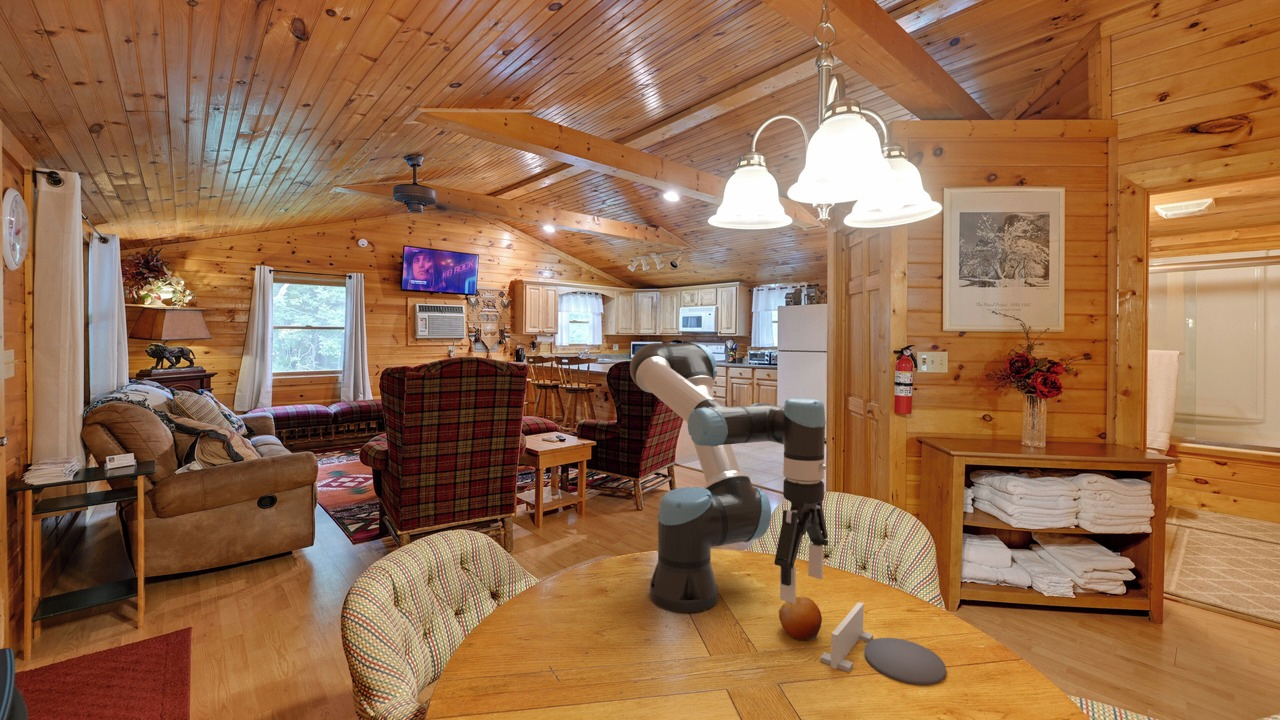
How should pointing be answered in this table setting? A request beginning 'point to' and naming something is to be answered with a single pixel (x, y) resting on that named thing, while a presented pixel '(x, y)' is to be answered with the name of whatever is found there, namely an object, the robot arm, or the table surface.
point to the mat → (905, 661)
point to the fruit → (801, 619)
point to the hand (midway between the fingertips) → (802, 588)
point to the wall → (846, 639)
